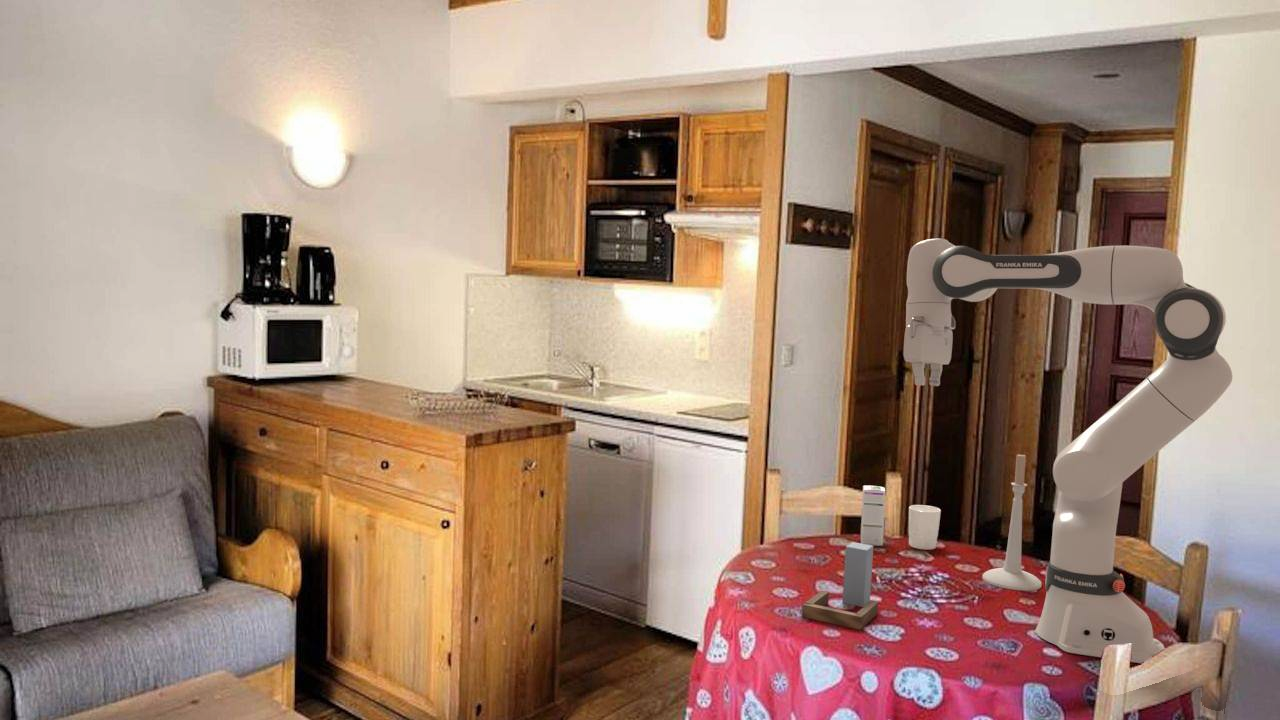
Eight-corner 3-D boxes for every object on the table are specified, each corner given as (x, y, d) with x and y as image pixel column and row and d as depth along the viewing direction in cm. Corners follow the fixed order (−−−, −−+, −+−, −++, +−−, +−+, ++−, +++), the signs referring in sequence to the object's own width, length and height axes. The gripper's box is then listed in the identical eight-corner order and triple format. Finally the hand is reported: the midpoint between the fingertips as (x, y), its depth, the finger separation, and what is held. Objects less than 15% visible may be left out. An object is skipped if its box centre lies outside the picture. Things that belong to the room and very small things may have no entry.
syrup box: (883, 546, 253) (886, 490, 252) (859, 544, 254) (863, 488, 253) (882, 540, 258) (885, 486, 257) (859, 538, 260) (862, 484, 258)
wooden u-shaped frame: (877, 613, 200) (878, 601, 200) (860, 629, 190) (861, 617, 190) (821, 601, 206) (821, 590, 206) (802, 616, 196) (802, 604, 196)
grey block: (869, 601, 208) (873, 545, 207) (863, 606, 204) (866, 550, 203) (849, 597, 210) (852, 542, 209) (842, 602, 206) (845, 546, 205)
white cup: (900, 545, 255) (903, 507, 254) (917, 540, 260) (919, 503, 259) (927, 552, 249) (930, 513, 248) (944, 547, 254) (946, 509, 254)
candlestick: (980, 570, 234) (989, 446, 232) (1038, 577, 231) (1047, 451, 229) (984, 586, 222) (993, 455, 220) (1044, 593, 219) (1055, 460, 216)
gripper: (927, 314, 192) (926, 385, 192) (957, 321, 209) (957, 386, 209) (896, 315, 195) (895, 384, 195) (928, 322, 212) (927, 386, 212)
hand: (927, 385), depth 202 cm, fingers open, 8 cm apart
